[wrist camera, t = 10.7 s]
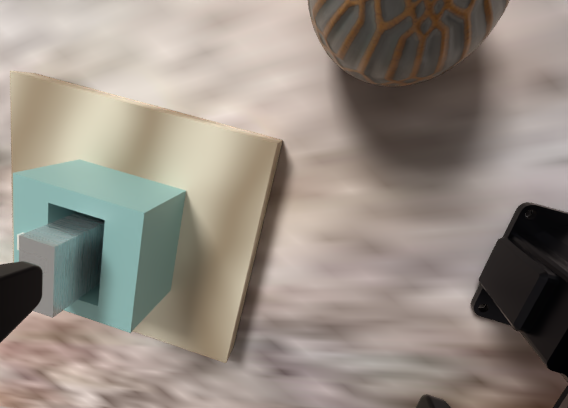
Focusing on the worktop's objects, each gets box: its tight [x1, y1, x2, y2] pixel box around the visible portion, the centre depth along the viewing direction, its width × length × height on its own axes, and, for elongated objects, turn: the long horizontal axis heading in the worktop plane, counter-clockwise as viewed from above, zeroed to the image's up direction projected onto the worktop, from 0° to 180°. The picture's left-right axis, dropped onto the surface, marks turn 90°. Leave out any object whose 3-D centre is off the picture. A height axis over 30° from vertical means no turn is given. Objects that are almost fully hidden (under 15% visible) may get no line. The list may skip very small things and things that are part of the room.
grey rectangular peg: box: [19, 212, 105, 318], centre depth 17 cm, size 2×3×6 cm, turn 166°
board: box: [10, 71, 283, 363], centre depth 20 cm, size 15×14×2 cm
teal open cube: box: [13, 159, 186, 333], centre depth 18 cm, size 6×6×4 cm
